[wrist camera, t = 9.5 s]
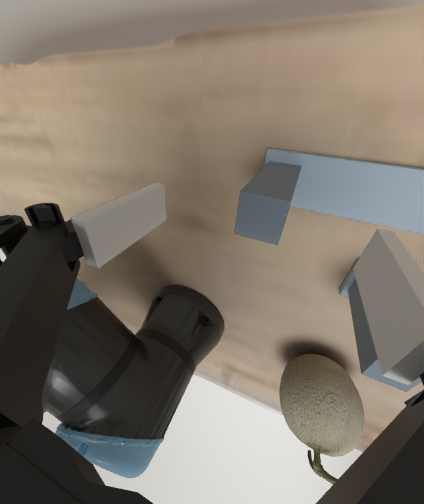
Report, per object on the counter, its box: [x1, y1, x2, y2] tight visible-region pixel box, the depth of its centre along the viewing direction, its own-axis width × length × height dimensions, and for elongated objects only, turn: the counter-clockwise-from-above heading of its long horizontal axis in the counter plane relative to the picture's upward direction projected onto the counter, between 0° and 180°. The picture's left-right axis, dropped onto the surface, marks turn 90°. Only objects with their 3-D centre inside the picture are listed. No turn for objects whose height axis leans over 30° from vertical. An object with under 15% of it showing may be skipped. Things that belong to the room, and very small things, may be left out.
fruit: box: [280, 354, 364, 485], centre depth 28 cm, size 10×12×15 cm
